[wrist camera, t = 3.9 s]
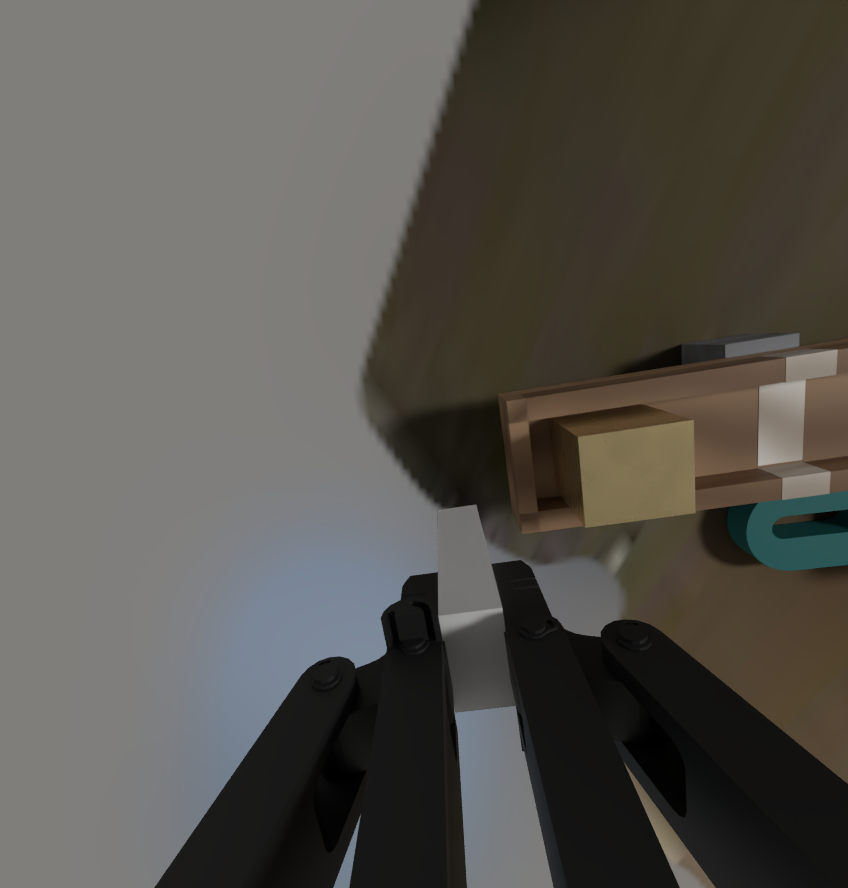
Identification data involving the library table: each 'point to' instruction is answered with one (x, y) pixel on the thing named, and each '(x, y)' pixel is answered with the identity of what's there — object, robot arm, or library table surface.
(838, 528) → the bracket
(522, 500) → the brown long open piece
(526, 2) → the library table surface
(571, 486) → the block
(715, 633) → the library table surface
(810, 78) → the library table surface
